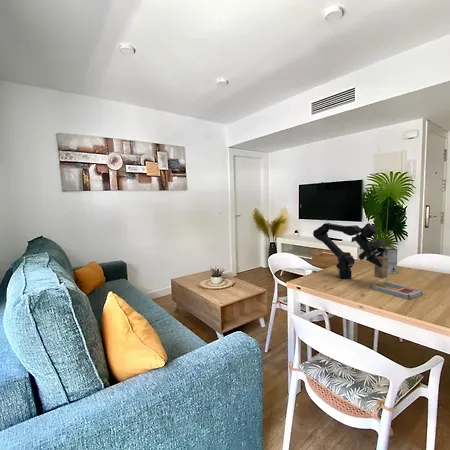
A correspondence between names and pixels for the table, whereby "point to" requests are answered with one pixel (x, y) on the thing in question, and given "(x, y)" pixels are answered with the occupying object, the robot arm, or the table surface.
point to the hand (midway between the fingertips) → (383, 265)
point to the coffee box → (391, 259)
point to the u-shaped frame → (395, 293)
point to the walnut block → (381, 268)
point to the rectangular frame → (406, 291)
